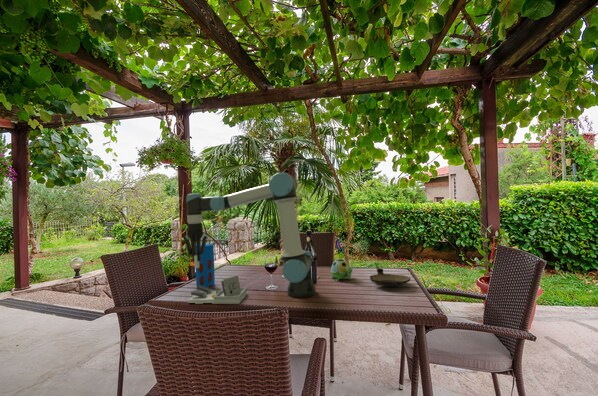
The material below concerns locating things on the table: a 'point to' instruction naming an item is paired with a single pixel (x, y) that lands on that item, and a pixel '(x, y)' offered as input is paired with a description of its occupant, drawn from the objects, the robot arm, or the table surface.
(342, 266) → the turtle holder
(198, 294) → the breaker tagged
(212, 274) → the blue tall box
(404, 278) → the oil lamp
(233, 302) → the board
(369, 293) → the table surface
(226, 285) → the electrical switch
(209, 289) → the breaker off
